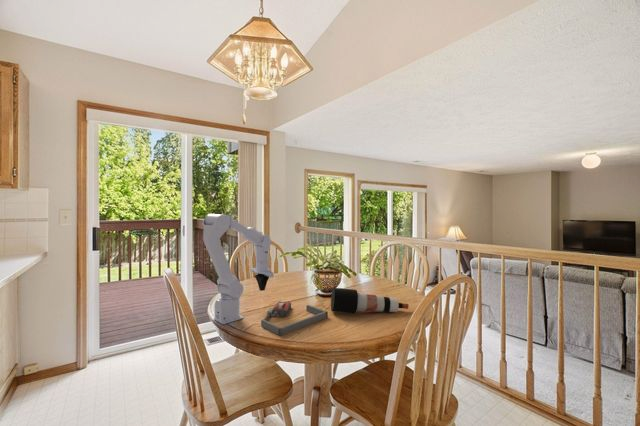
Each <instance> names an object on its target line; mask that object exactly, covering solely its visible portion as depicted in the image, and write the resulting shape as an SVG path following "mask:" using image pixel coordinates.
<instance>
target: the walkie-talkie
mask: <svg viewBox="0 0 640 426" xmlns="http://www.w3.org/2000/svg"><path fill="white" fill-rule="evenodd" d="M291 308H292V302H290V301H285V300H284V301H283V300H281V301H278V302H276V304H275V305H274V306H272V307H269V309H268V310H267V311H266V316H265V318H264V320H266V321H268V319H269V318H270V317H281V318H283V317H284V318H285V317H288V315H289V313H290V311H291Z"/></svg>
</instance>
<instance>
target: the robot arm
mask: <svg viewBox="0 0 640 426" xmlns="http://www.w3.org/2000/svg"><path fill="white" fill-rule="evenodd" d="M201 224H202V227H203V233H202V234H203V235H202V240H203V243H204V246H205V247H206V250H207V252H208V255H209V258H210V260H211V262H212V265H213V268H214V270H215V273H216V274H217V277H218V278H217V280H216V282H217V292H218V293H219V294H220V298H219V299H217V300H215V302H214V317H213V320H214V321H216V322H218V323H220V324H221V325H226V324H229V323H232V322H236V321H238V320H239V321H240V320H242V319H244V318H245V317H244V316H242V314H241V315H240V299H241V296H242V295H243V292H244V286H243V284H242V283H241V282H240V281H239V279H238V277H236V276H235V275H234V274H233V272H232V269H231V266H230V264H229V262H228V259H227V257H226V254H225V252H224V248H223V247H222V243H221V241H220V239H221V238H222V236H223V235H224V234H225V233H226V231H228V229H231V230H232V231H235V232H237V233H239V234H241V235H242V237H243V239H245V240H247V241H248V242H250V243H252V244H253V246H254V247H255V267H251V273H255V275H254V278H255V280H256V281H257V286H258V289H259V291H265V290H266V287H267V283H268V281H269V279H270V278H273V277H275V276H274V272H272V271H271V269H270V268H269V267H270V266H269V264H270V263H269V262H270V259H269V256H270V255H269V254H270V253H269V252H270V248H271V245H272V239H271V237H270V236H269V235H267V234H263V232H262V231H259V230H257V229H256V227H254V226H249V227H246V226H245V225H243V224H242V223H240V222H239V221H238V220H236V219H234V217H232V216H229V215H228V214H226V213H222V214H219V213H208V214H206V215H205V216H204V218H203V220H202V223H201Z"/></svg>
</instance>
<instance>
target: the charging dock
mask: <svg viewBox="0 0 640 426" xmlns="http://www.w3.org/2000/svg"><path fill="white" fill-rule="evenodd" d="M305 307H306V310H305V311H306V312H308V313H310V314H313V315H311V316H309V317H305V318H303V319H300V320H297V321H295V322H292V323H290V324H286V325H283V326H278V325H277V324H274V323H272V322H270V321H268V320H267V321H266V320H264V319H265V318H264V319H261V320H260V321H261V323H260V327H262V328H264V329H266V330H267V331H270V332H272V333H273V334H275V335H277V336H279V337H281V336H284V335H286V334H289V333H292V332H294V331H296V330H299V329H300V330H301V329H302V328H304V327H308V326H309V325H312V324H315V323H318V322H320V321H323V320H325V319H327V318H328V311H327V310H324V309H321V308H318V307H315V306H313V305H310V304H306V306H305Z"/></svg>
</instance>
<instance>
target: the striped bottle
mask: <svg viewBox="0 0 640 426" xmlns="http://www.w3.org/2000/svg"><path fill="white" fill-rule="evenodd" d="M409 306H410V305H409V304H408V303H403V302H399V300H398V298H397V297H387V296H381V295H376V294H368V293H367V294H365V293H362V292H358V290H357V289H354V288H353V289H352V288H351V289H350V288H341V287H340V288H339V287H332V291H331V296H330V311H331V312H333V313H342V314H343V313H345V314H356V313H357V311H358V312H360V311H361V312H362V311H363V312H378V313H379V312H380V313H383V312H384V313H397V312H398V311H399V309H406V310H408V309H409V308H410V307H409Z"/></svg>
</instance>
